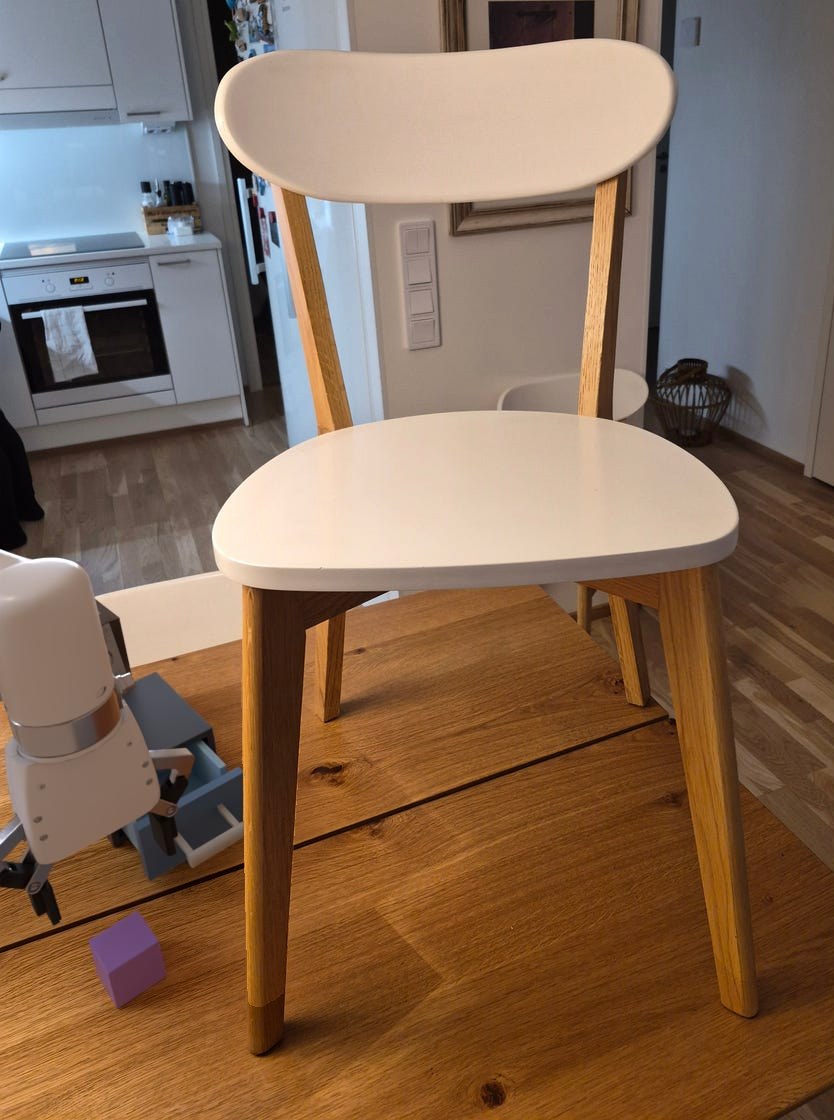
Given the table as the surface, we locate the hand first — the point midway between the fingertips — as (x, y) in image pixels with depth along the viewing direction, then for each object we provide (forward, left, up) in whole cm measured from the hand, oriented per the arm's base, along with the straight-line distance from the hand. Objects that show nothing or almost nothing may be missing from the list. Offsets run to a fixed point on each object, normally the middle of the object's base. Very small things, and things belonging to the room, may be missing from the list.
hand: (110, 878), depth 72 cm
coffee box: (+12, +37, -12) cm, 41 cm away
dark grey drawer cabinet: (+11, +23, -12) cm, 28 cm away
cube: (0, 0, -12) cm, 12 cm away
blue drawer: (+11, +12, -11) cm, 20 cm away
